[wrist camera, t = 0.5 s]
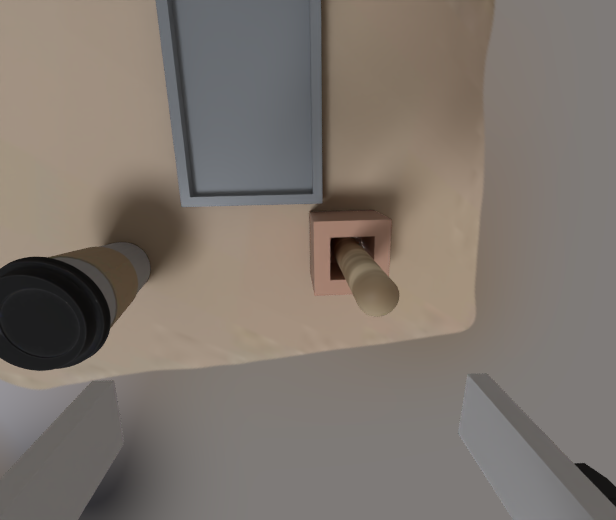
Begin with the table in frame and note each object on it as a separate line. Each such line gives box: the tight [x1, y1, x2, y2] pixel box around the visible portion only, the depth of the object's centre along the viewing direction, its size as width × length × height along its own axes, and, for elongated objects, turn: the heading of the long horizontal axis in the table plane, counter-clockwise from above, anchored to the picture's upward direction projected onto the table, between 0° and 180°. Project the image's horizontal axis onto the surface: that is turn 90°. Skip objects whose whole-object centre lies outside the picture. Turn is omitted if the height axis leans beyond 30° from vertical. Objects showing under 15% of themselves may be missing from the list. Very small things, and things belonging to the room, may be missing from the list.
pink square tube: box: [309, 210, 392, 296], centre depth 36 cm, size 8×8×7 cm
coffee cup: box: [0, 242, 150, 371], centre depth 32 cm, size 9×9×15 cm
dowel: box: [330, 237, 399, 317], centre depth 31 cm, size 3×3×16 cm
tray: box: [156, 0, 322, 207], centre depth 33 cm, size 22×15×2 cm
